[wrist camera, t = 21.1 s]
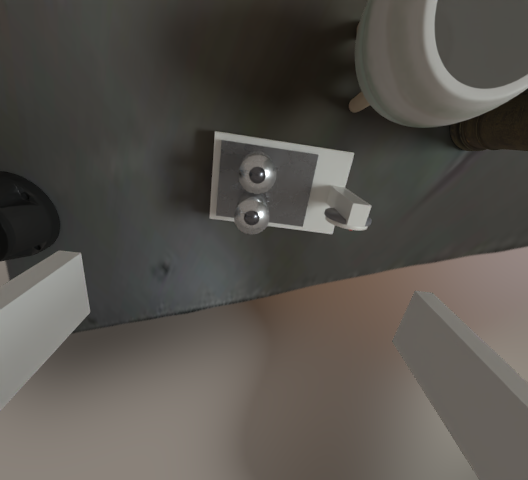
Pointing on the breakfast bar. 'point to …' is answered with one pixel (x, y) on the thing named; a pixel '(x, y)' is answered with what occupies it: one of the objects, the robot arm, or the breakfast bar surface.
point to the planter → (440, 58)
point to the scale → (322, 191)
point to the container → (495, 128)
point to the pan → (282, 192)
